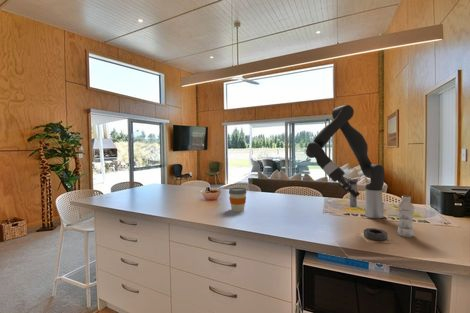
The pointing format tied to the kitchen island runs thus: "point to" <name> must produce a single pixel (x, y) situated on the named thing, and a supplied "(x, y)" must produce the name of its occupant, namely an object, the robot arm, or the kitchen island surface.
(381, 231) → the chuck collar
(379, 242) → the oak base plate
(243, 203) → the reusable coffee cup
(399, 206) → the plastic bottle
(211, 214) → the kitchen island surface
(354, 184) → the steel key rod
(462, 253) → the kitchen island surface
